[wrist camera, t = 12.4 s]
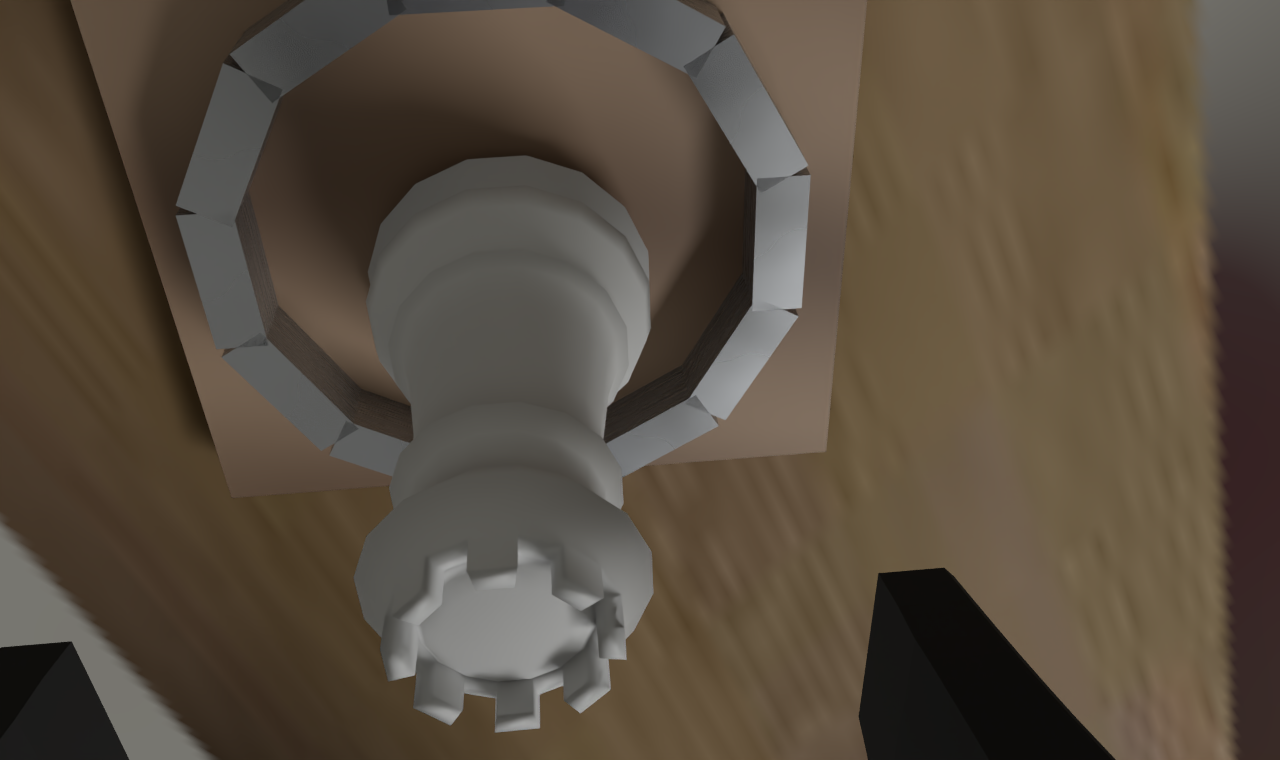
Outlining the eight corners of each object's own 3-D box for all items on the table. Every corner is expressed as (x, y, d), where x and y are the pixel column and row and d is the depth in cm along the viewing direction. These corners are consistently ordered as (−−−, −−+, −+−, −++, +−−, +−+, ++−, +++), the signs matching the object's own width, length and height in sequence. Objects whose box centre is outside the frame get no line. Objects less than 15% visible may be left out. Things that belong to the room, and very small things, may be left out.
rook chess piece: (311, 251, 17) (182, 641, 11) (532, 82, 16) (539, 408, 9) (494, 424, 19) (481, 833, 13) (700, 289, 18) (799, 666, 12)
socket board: (814, 419, 21) (838, 486, 20) (243, 463, 21) (219, 535, 19) (859, -138, 16) (899, -108, 14) (69, -100, 15) (13, -64, 13)
